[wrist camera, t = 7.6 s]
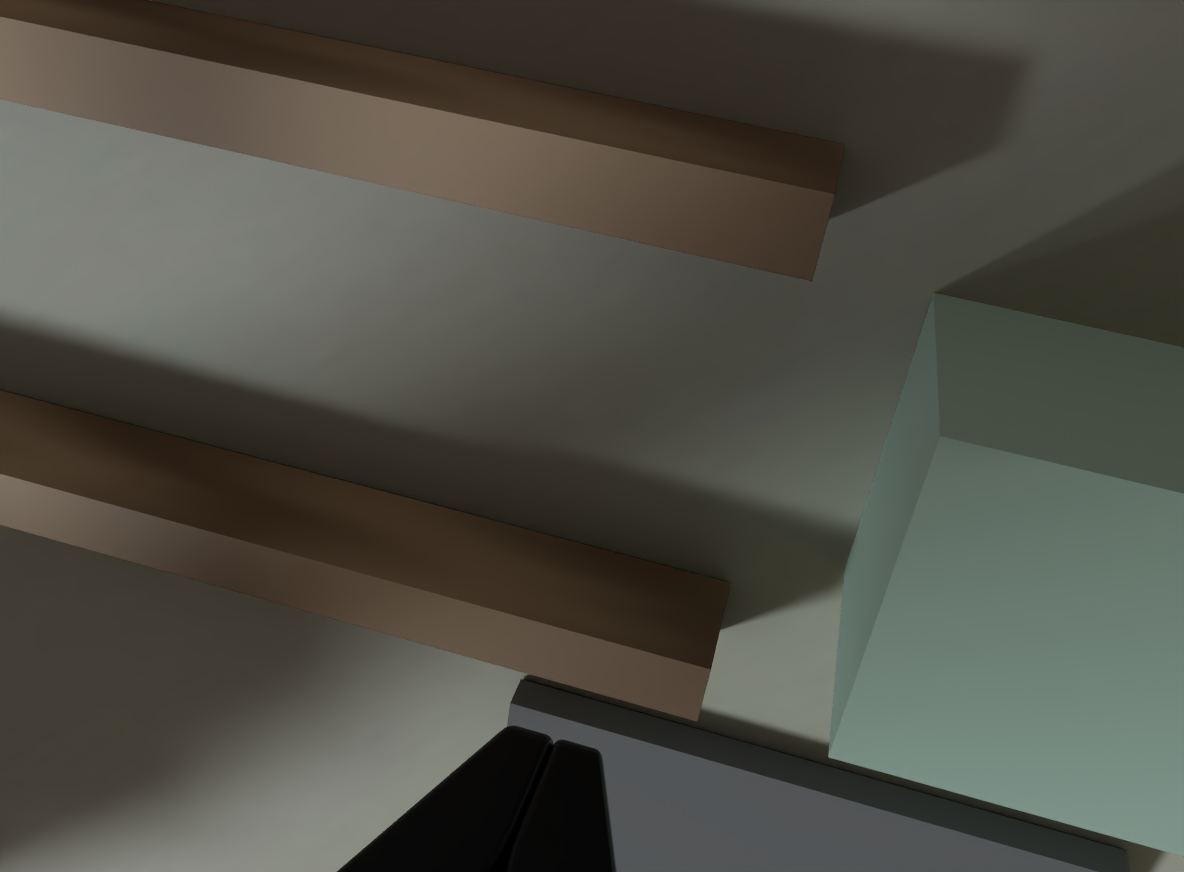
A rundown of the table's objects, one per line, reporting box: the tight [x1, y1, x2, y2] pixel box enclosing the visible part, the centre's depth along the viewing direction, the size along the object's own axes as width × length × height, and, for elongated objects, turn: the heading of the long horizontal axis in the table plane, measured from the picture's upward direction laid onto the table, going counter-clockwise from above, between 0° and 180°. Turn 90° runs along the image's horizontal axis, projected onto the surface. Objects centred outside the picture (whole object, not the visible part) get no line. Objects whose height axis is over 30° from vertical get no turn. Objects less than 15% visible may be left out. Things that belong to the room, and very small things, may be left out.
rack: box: [0, 0, 844, 721], centre depth 14 cm, size 16×15×2 cm
